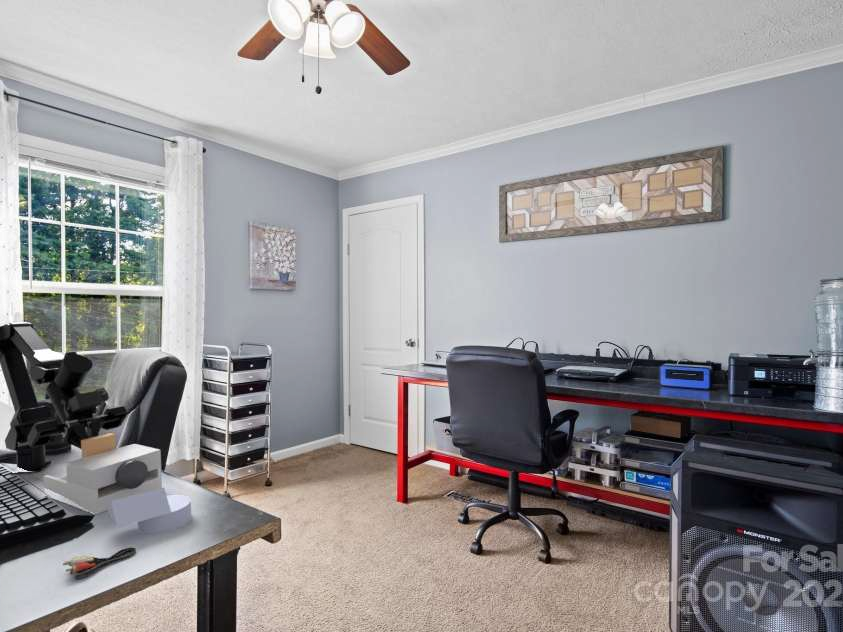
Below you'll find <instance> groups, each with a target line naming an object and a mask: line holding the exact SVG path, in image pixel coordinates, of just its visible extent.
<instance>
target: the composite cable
mask: <svg viewBox="0 0 843 632" xmlns="http://www.w3.org/2000/svg"><path fill="white" fill-rule="evenodd" d="M136 553H137V549H136V547H125V548H122V549H120V550H118V551H117V552H114V554H112V555H110V556H109V557H95V556H87V555H84V556H83V555H82V556H76V557H73V558H71V559H70V560H67V561H66V560H65V561H64V562H63V563H62V565H63V566H69V567H71V568H67V569H65V572H69V574H70V575H71V574H74V579H75V580H81V579H84V578H86V577H89V576H90V575H92V574H94V573H95V572H97V571H99V570H101V569H104V568H105V567H106V566H109V565H111V564H114V563H119V562H120V561H123V560H126V559H129V558H131V557H133V556H134V555H135V554H136Z"/></svg>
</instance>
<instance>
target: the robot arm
mask: <svg viewBox="0 0 843 632" xmlns="http://www.w3.org/2000/svg"><path fill="white" fill-rule="evenodd" d="M24 357H25V358H24ZM25 359H26V360H27V361H28V362H29V364H30V365H29V370H28V368H27V365H26V361H25ZM93 366H94V365H93V362H92V360H91V359H90V358H88V357H86V356H85V355H81V354H78V353H77V351H75V350H73V351H66V352H65V354H63V353H62V352H58V351H53V350H51V348H50V347H49V346H48V344H46V342H45V341H44V340H43V339H42V338H41V337H40V336H39V334H38V333H37V332H36V331H35V330H34V326H33V324H32V323H31V322H27V321H21V322H20V321H19V322H9V323H5V324H4V325H1V326H0V368H1V371H2V375H3V376H4V381H5V384H6V386H7V390H8V393H9V396H10V399H11V402H12V407H13V409H14V414H13V416H12V419H11V421H10V423H9V425H10V429H9V430H8V432H7V434H6V437H5V439H4V444H5V448H6V449H8V450H10V451H13V452H16V453H15V454H16V457H15V458H16V468H17V467H19V468H22V469H24V470H27V471H35V472H42V471H44V470H45V469H46V468H48V467H49V466H50V465H51V464H53V461H52V460H51V461H47V459H46V457H47V456H46V455H45V445H47V443H48V442H54V438H55V435H57V434H61V433H62V435H63V437H64V438H63V440H62V443H69V444H71V446H73V447H76V448H78V449H80V450H82V449H81V440H84V439H88V438H92V437H96V436H99V433H100V431H101V429H102V430H105V431H108V430H113V429H117V428H120V427H121V426H122V425H123V422H124V421H125V420H126V418H127V416H128V414H130V413H129V411H128V409H127V407H125V405H118V406H111V407H107V408H106V409H105V410H104V412H103V414H101V415H95V416H94V414H97V412H98V408H97V407H99V406H101V405H103V403H105V402H107V401H109V398H110V397H109V393H108V391H107V390H106V389H105V387H100V388H95V390H93V391H87V392H82V393H81V390H80V389H79V388H80V387H82V386H83V385H84V383H85V381H86V380H87V377H88V375H89V374H90V372H91V370H92V368H93ZM32 380H33V381H34V383H36V384H38V385H42V384H48V385H46V386H47V387H45V393H44V399H50V400H51V402H52V404H53V406H54V408H55V410H56V412H55V414H54V415H55V417H56V418H57V417H59V418H60V420H61V422H62V424H59V425H58V422H57V420H55V419H53V417H52V415H51V412H50V408H49V407H48V406H41V405H40V404H38V401H39V400H38V399H37V396H36V392H35V390H34V386H33V382H32ZM35 472H34V473H35Z"/></svg>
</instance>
